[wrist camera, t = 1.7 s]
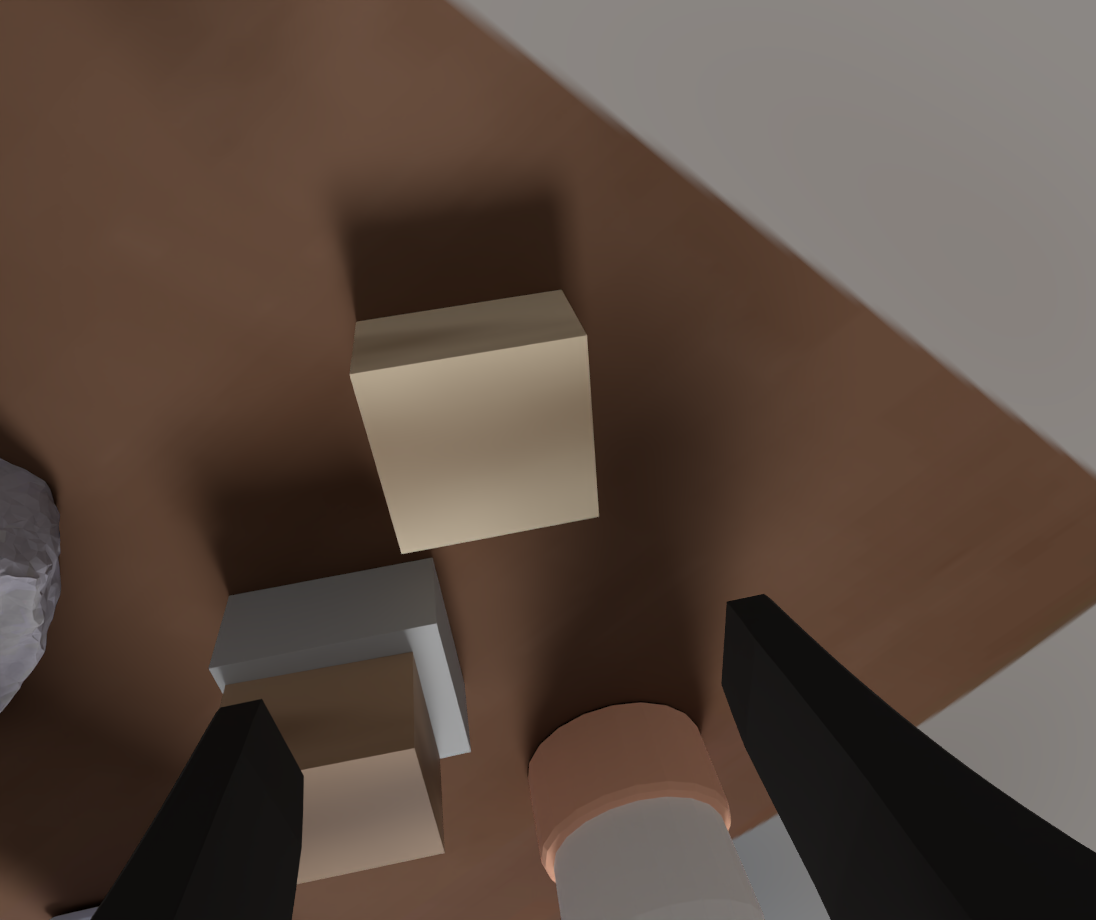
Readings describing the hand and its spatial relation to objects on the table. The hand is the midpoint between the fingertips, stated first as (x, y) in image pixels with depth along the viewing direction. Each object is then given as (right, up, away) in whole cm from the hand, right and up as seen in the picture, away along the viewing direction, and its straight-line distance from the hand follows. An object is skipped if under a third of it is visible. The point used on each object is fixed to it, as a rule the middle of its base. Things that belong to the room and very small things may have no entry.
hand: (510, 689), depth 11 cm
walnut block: (-5, -4, +9) cm, 12 cm away
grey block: (-6, -2, +12) cm, 13 cm away
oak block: (-1, +5, +7) cm, 9 cm away
